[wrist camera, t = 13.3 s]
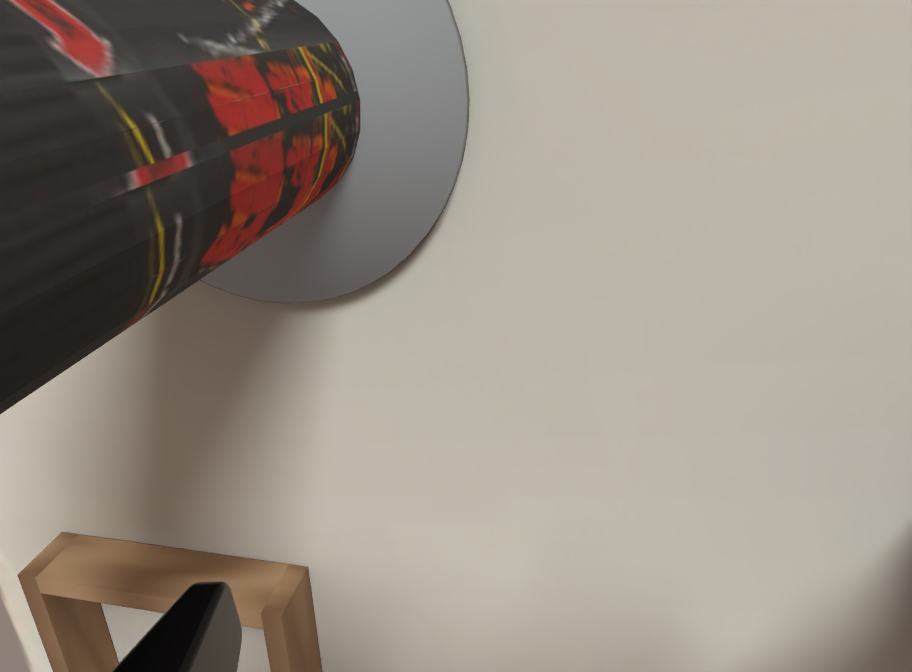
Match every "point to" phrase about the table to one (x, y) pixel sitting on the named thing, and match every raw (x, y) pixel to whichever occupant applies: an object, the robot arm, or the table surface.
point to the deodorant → (150, 157)
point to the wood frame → (159, 598)
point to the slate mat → (372, 157)
